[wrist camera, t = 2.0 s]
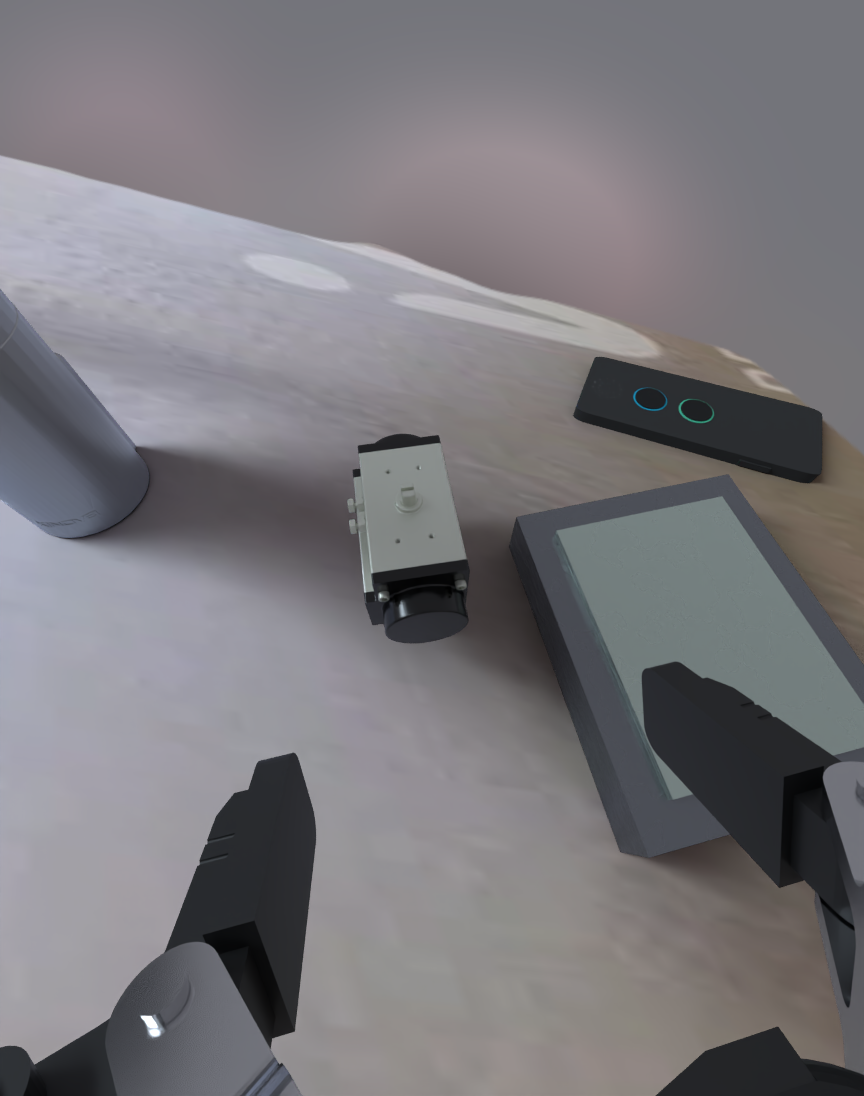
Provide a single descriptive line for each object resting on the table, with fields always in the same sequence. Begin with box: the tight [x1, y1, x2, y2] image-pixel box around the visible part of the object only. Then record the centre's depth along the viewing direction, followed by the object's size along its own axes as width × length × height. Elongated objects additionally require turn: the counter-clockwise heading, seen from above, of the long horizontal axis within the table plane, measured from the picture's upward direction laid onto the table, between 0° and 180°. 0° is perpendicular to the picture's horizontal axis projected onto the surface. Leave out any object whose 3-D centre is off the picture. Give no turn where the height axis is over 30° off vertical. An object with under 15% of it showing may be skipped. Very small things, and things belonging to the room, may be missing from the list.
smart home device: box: [573, 357, 822, 483], centre depth 41 cm, size 8×2×20 cm
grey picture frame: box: [509, 475, 864, 858], centre depth 29 cm, size 20×16×5 cm
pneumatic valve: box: [347, 434, 470, 643], centre depth 28 cm, size 6×12×12 cm, turn 9°
